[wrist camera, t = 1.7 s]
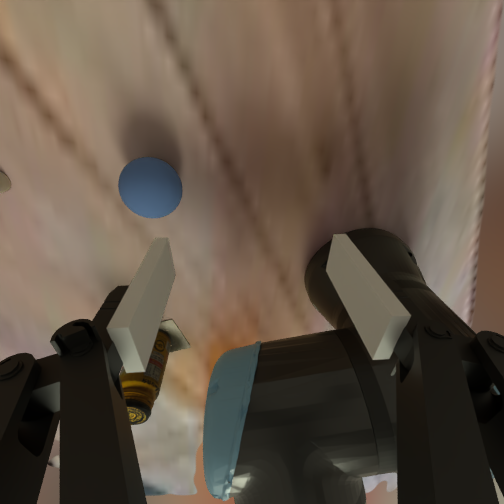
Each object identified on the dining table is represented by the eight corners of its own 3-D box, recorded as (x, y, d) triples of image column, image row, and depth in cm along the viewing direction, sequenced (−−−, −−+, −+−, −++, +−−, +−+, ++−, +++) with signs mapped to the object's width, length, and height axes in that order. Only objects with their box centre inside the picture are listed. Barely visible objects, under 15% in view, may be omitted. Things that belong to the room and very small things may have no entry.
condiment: (124, 331, 41) (88, 410, 31) (172, 318, 40) (151, 395, 30) (146, 356, 44) (121, 434, 34) (190, 345, 44) (178, 421, 34)
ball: (182, 151, 26) (170, 165, 21) (189, 204, 30) (180, 227, 25) (124, 151, 26) (98, 165, 21) (137, 205, 29) (118, 228, 24)
